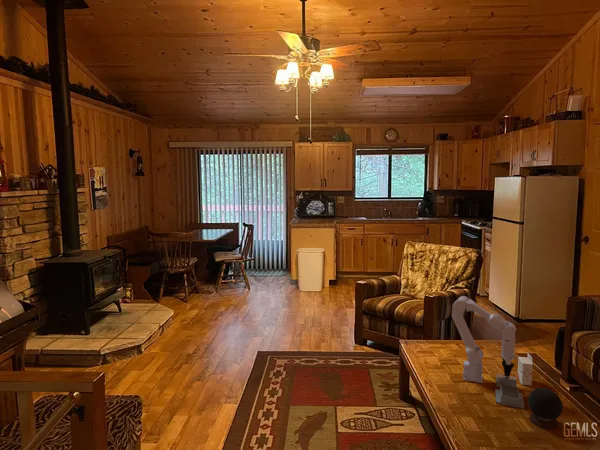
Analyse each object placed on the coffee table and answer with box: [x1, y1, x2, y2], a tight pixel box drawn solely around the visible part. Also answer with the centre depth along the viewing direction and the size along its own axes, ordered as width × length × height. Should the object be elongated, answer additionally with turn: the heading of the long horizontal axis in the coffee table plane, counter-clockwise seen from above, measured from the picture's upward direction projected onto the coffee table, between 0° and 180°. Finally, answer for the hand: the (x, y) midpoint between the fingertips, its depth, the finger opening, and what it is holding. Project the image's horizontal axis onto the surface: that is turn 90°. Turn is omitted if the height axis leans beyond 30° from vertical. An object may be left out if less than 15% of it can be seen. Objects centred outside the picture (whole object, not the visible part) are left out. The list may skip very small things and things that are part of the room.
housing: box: [495, 373, 518, 388], centre depth 217 cm, size 9×4×6 cm, turn 66°
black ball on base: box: [527, 387, 564, 431], centre depth 186 cm, size 13×13×15 cm
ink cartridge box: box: [516, 352, 534, 386], centre depth 222 cm, size 9×5×15 cm, turn 168°
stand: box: [494, 384, 525, 409], centre depth 205 cm, size 12×13×4 cm
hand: (506, 372), depth 217 cm, fingers open, 7 cm apart
